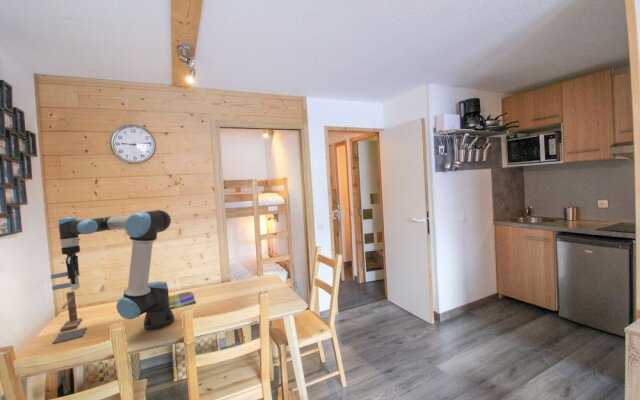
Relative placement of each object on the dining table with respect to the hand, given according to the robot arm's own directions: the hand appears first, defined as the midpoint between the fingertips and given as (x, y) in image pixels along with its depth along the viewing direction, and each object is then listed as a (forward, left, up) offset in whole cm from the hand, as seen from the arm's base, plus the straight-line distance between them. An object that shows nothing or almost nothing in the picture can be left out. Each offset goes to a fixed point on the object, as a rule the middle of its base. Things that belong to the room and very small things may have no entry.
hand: (75, 289), depth 159 cm
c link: (0, +4, +2) cm, 4 cm away
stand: (+14, +7, -24) cm, 29 cm away
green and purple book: (+16, -50, -25) cm, 58 cm away
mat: (0, +4, -24) cm, 25 cm away
